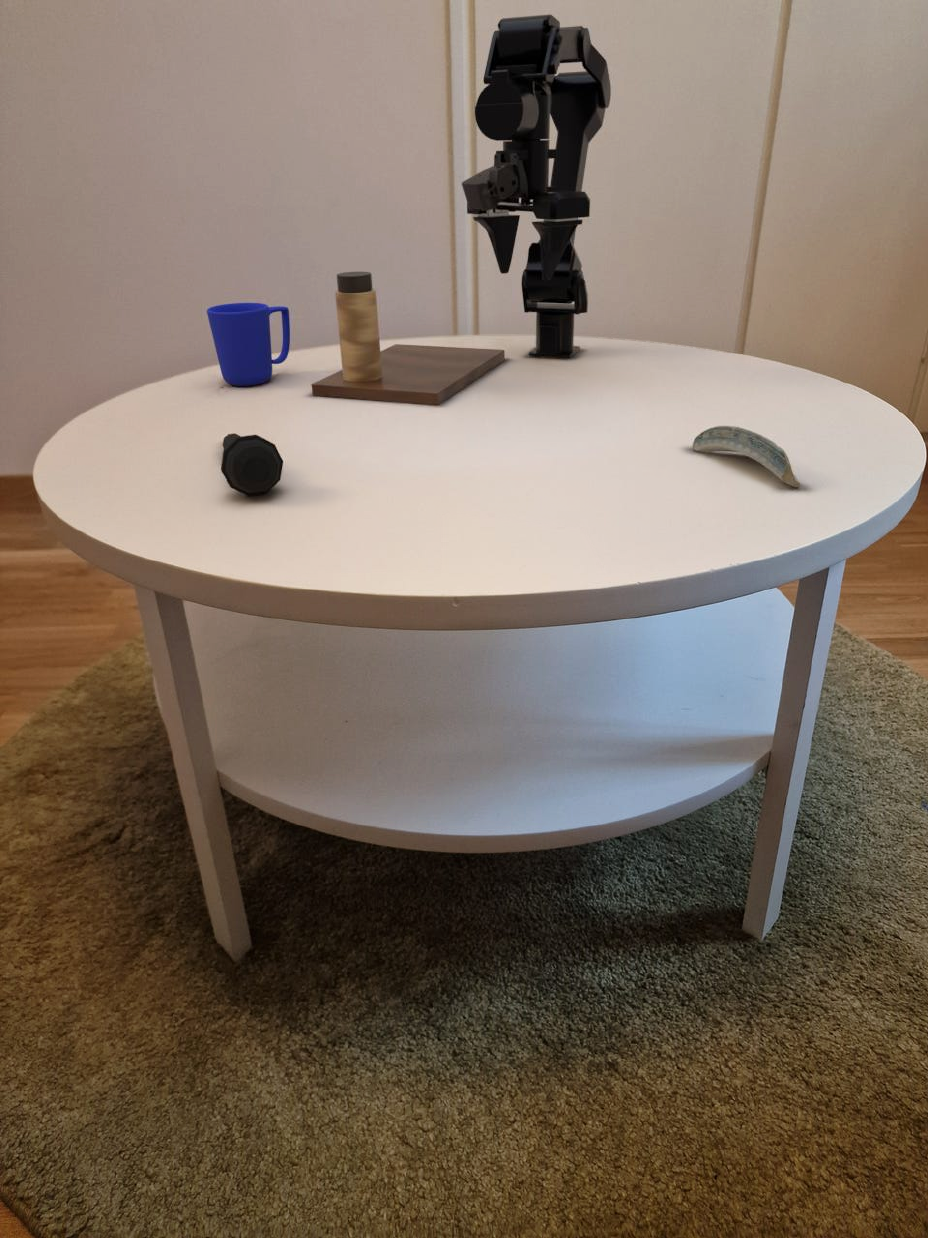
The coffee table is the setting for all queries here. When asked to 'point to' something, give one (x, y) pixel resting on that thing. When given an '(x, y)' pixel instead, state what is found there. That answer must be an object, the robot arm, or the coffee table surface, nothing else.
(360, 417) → the coffee table surface
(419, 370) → the cutting board
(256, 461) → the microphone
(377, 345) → the pepper mill
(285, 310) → the mug
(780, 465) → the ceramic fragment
